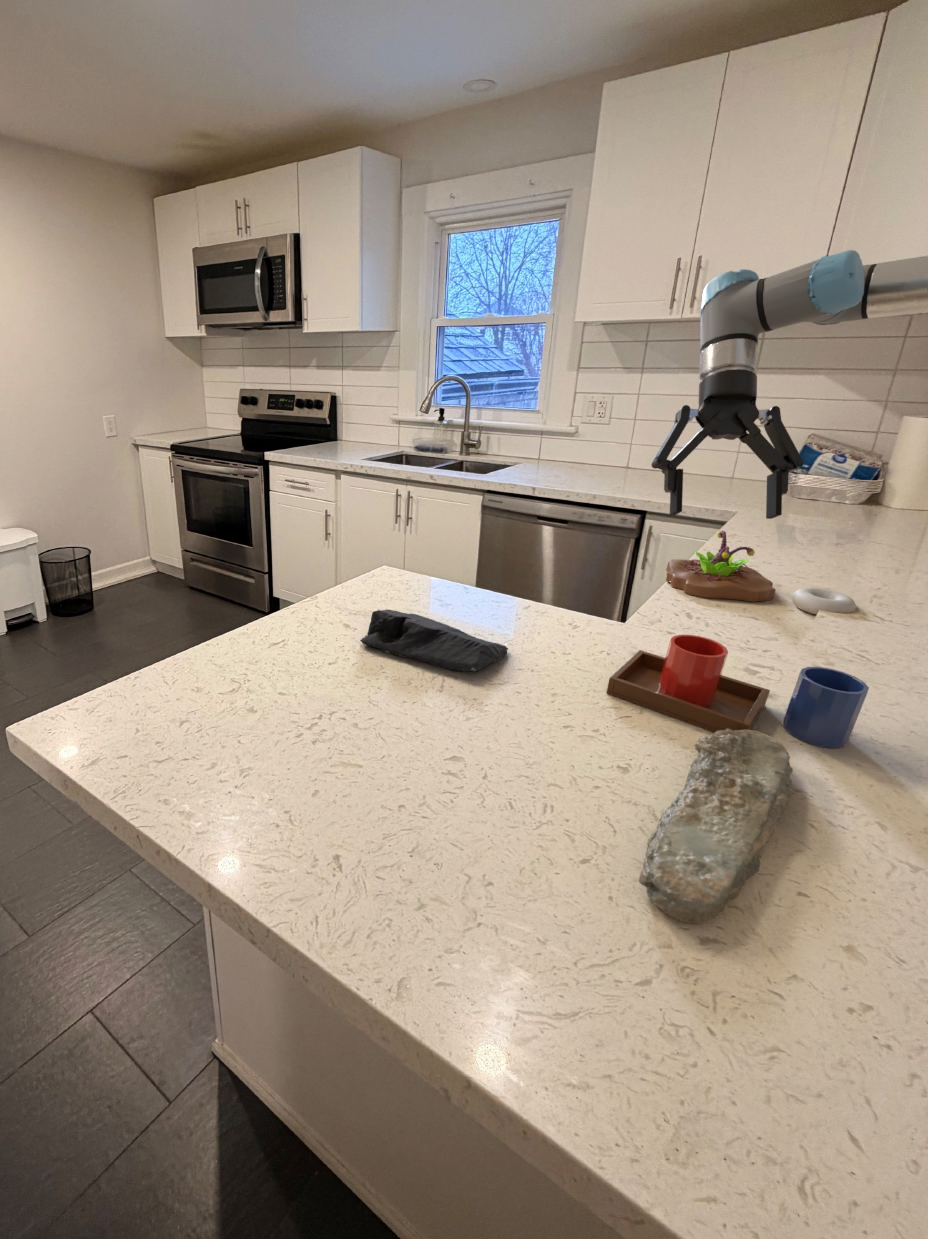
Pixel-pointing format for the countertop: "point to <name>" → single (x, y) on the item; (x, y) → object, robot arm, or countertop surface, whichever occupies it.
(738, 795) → the elongated rock
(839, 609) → the donut
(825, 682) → the blue cup
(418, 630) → the folded black pouch
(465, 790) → the countertop surface
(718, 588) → the plant
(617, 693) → the tray
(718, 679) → the red cup
